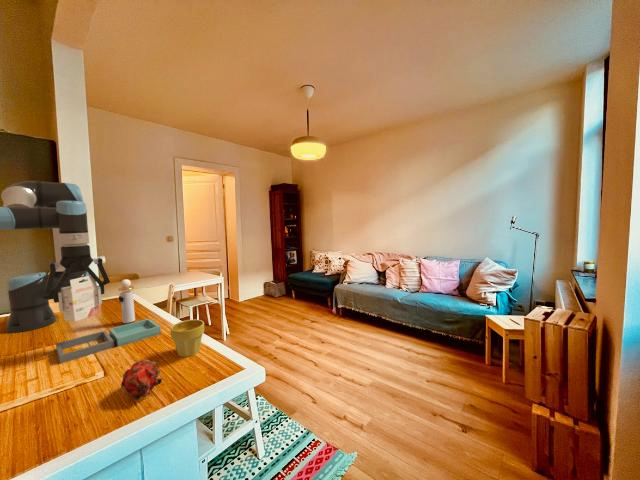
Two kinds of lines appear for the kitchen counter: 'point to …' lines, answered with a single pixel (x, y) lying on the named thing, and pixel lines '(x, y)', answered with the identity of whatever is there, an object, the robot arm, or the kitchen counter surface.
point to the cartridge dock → (84, 351)
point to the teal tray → (134, 332)
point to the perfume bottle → (127, 301)
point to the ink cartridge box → (80, 299)
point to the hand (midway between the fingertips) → (81, 307)
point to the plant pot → (187, 336)
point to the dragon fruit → (141, 378)
